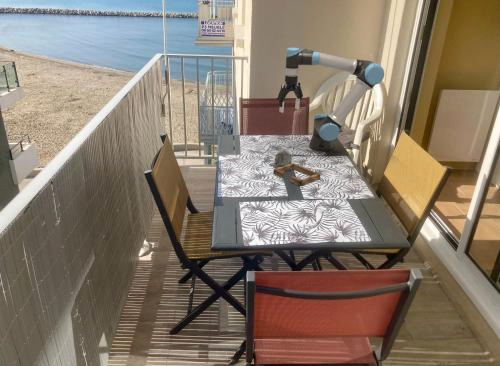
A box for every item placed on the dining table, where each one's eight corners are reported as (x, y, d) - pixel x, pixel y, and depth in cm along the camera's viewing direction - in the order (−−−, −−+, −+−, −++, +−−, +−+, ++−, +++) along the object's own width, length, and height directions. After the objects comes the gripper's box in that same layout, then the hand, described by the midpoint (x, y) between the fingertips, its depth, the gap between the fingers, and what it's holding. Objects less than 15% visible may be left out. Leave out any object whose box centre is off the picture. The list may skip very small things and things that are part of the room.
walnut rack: (293, 167, 245) (293, 163, 244) (320, 179, 231) (320, 174, 230) (273, 174, 236) (273, 169, 235) (300, 186, 221) (300, 181, 220)
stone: (285, 151, 239) (285, 145, 248) (271, 161, 243) (272, 154, 252) (295, 163, 242) (294, 157, 251) (281, 172, 245) (281, 166, 254)
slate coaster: (282, 161, 255) (282, 160, 255) (294, 166, 247) (294, 165, 247) (268, 165, 249) (268, 164, 248) (281, 170, 241) (281, 169, 241)
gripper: (301, 72, 255) (299, 106, 264) (271, 76, 241) (270, 112, 249) (310, 74, 250) (307, 108, 259) (280, 78, 235) (278, 114, 244)
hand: (289, 110), depth 254 cm, fingers open, 13 cm apart
